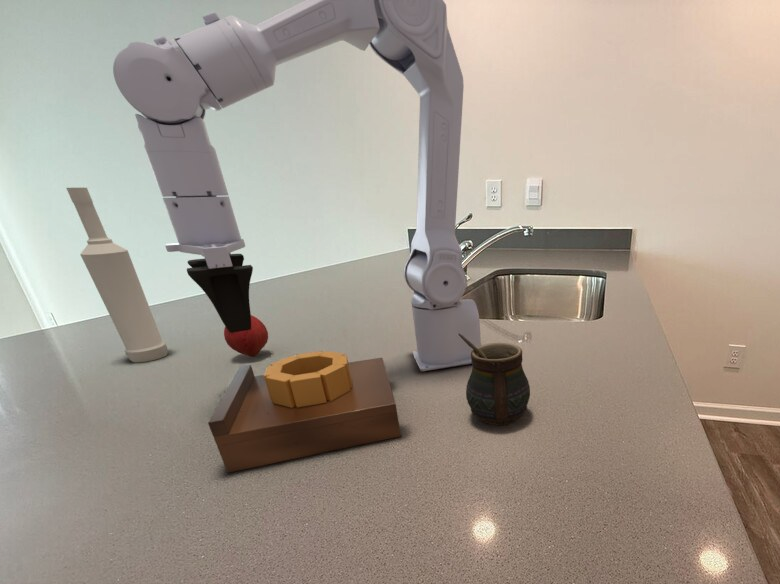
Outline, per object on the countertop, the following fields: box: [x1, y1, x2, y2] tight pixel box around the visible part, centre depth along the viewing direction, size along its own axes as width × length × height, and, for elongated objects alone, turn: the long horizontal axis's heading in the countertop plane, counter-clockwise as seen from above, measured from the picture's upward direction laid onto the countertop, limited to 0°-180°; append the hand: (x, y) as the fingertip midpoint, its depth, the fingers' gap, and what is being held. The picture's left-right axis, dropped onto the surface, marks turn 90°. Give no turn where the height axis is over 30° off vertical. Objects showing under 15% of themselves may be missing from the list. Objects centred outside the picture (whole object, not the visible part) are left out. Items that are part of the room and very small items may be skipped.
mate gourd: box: [458, 333, 531, 427], centre depth 45 cm, size 7×8×10 cm
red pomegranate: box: [223, 314, 269, 358], centre depth 64 cm, size 6×6×8 cm
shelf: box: [207, 357, 402, 474], centre depth 45 cm, size 16×14×6 cm
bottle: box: [65, 187, 169, 363], centre depth 61 cm, size 5×5×25 cm
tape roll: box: [263, 350, 352, 408], centre depth 44 cm, size 8×8×3 cm
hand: (237, 322), depth 48 cm, fingers open, 7 cm apart
